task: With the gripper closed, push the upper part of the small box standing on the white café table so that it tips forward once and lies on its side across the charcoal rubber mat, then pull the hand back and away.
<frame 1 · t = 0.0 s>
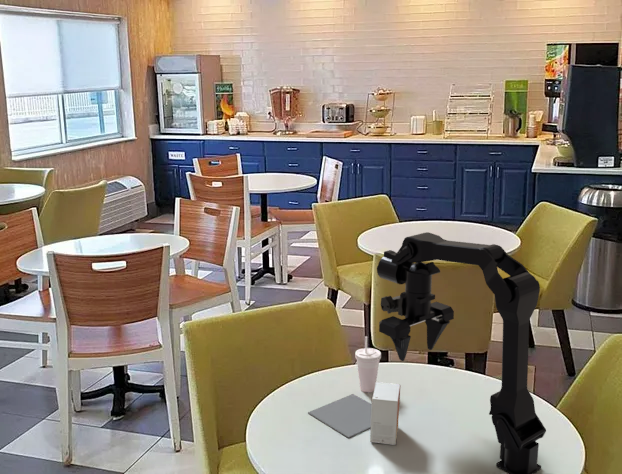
hand: (416, 354, 157), 15 cm above the table, fingers open, 9 cm apart
smoothie: (367, 389, 172), on the table
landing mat: (350, 415, 160), on the table
small box: (384, 435, 152), on the table, touching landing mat
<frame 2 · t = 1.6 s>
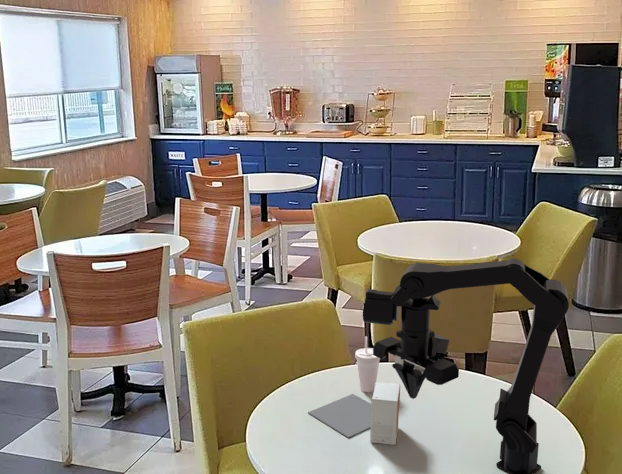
hand: (413, 397, 142), 12 cm above the table, fingers closed
nothing on the table moved.
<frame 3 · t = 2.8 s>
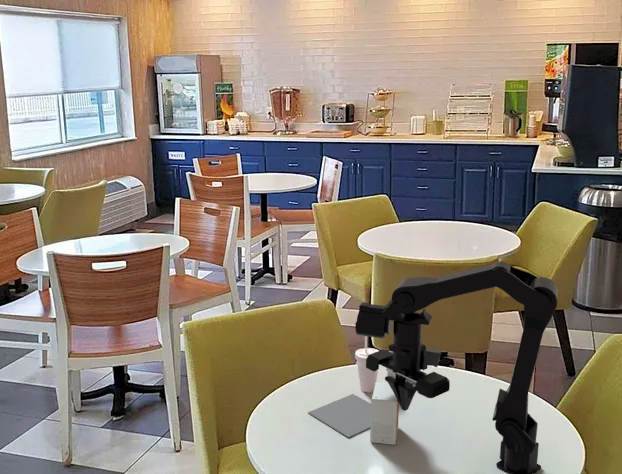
hand: (405, 409, 145), 9 cm above the table, fingers closed
small box: (384, 434, 152), on the table, touching gripper, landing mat
everything else where it was.
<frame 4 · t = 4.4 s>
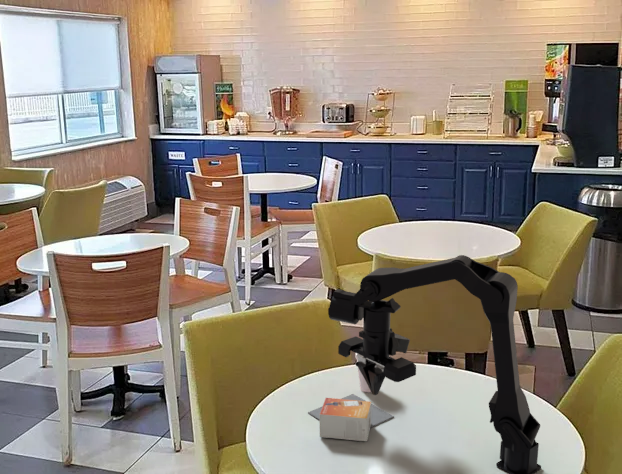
hand: (375, 394, 152), 9 cm above the table, fingers closed
small box: (370, 421, 151), point 3 cm above the table, touching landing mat
everything else where it was.
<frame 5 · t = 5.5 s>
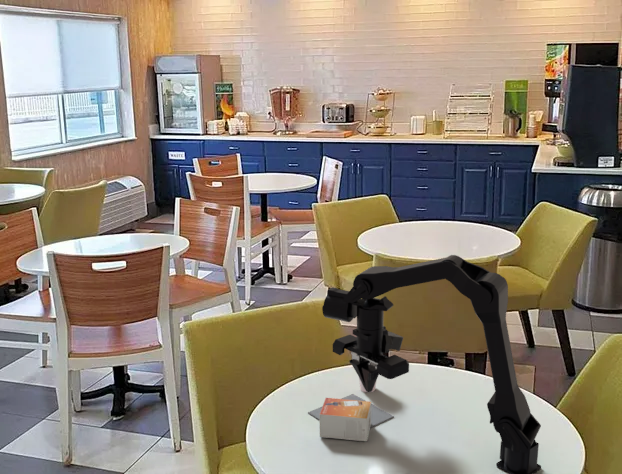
hand: (369, 391, 153), 9 cm above the table, fingers closed
nothing on the table moved.
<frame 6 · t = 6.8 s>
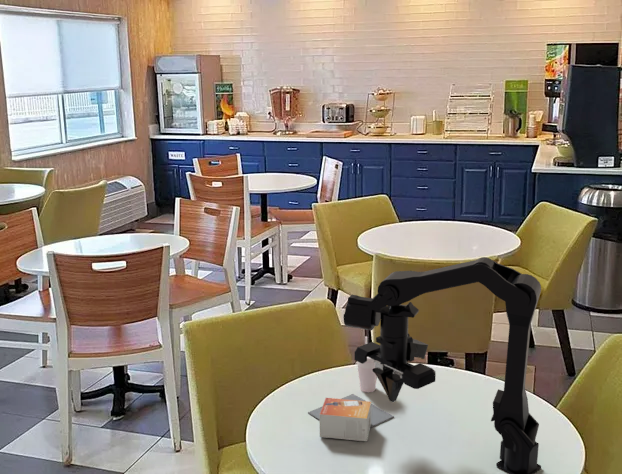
hand: (392, 401, 147), 9 cm above the table, fingers closed
nothing on the table moved.
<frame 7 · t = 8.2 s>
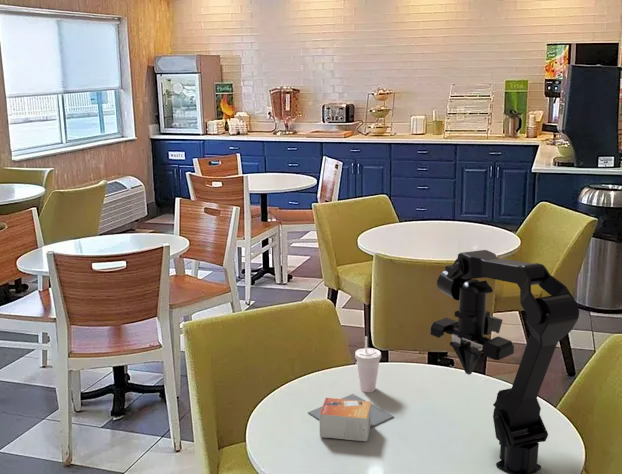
hand: (468, 373, 153), 12 cm above the table, fingers closed
nothing on the table moved.
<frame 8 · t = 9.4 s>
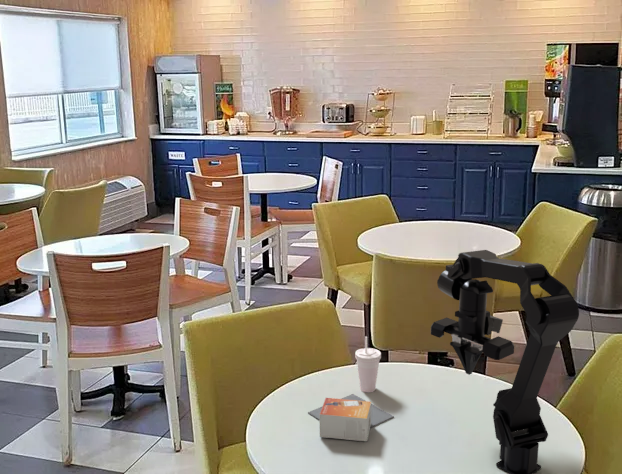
hand: (469, 373, 153), 12 cm above the table, fingers closed
nothing on the table moved.
at the end: small box tilted 90°; small box inside the target area (5.1 cm from its centre), point 3.0 cm above the table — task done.
